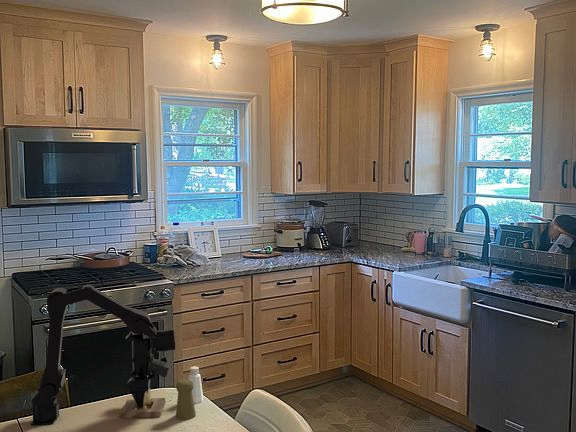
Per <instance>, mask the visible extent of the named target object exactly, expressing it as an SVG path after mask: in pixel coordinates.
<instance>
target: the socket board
mask: <svg viewBox="0 0 576 432" xmlns="http://www.w3.org/2000/svg"><path fill="white" fill-rule="evenodd" d="M165 405H166V397H156V398H152V397H151V408H150V409H136V401H135V400H134V398H133V399H127V400H126V401H125V404H124V405H123V407H122V409H121V412H120V419H121V418H122V419H136V418H135V417H142V418H157V417H159V418H160V416H161V417H162V415H163V411H164V409H163V408H165Z"/></svg>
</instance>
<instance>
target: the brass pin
mask: <svg viewBox="0 0 576 432" xmlns="http://www.w3.org/2000/svg"><path fill="white" fill-rule="evenodd" d="M151 398H152V397H151V387H149V389H148V390H147V391H146V392H145V397H144V404H143V408H139V407H138V405H137V403H136V409H150V408H151Z"/></svg>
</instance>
